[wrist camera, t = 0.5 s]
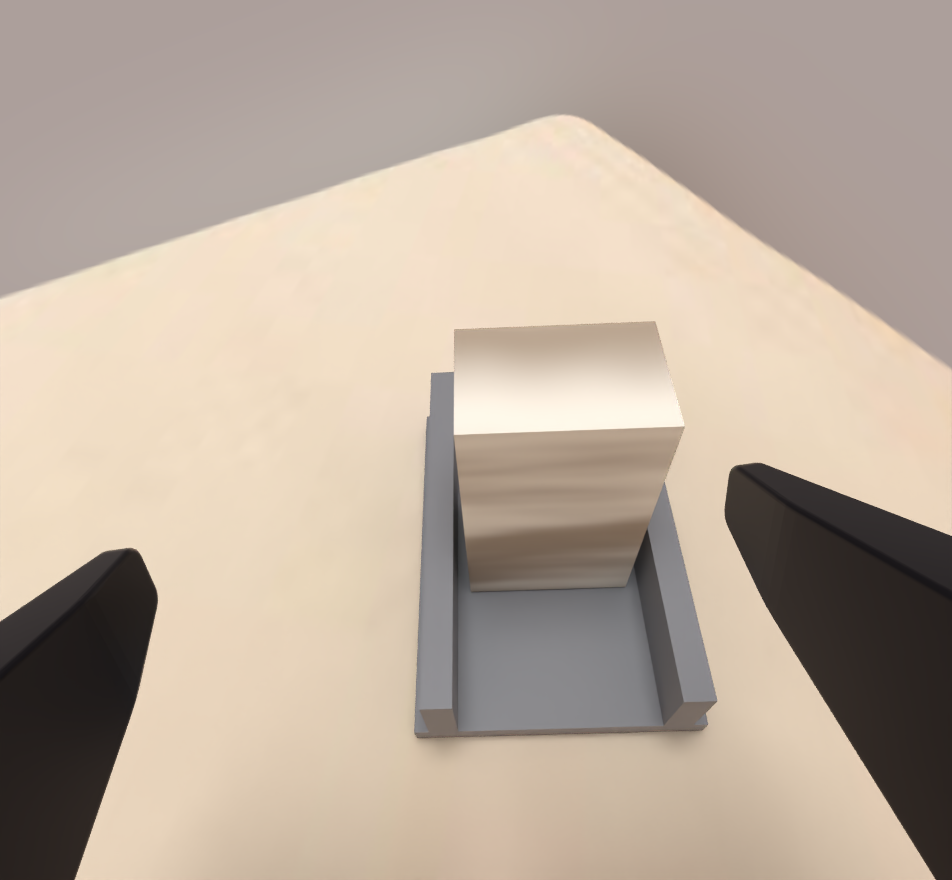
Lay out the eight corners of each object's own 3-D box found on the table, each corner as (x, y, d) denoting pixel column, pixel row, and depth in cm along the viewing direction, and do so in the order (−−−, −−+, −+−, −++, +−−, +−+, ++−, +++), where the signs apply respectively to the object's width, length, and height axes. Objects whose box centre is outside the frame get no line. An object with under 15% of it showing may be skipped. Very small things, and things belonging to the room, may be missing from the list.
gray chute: (702, 730, 22) (733, 700, 19) (417, 738, 22) (402, 709, 19) (633, 419, 30) (647, 364, 27) (428, 426, 30) (420, 373, 27)
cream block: (625, 586, 24) (685, 426, 16) (470, 591, 24) (453, 435, 16) (610, 498, 26) (655, 321, 18) (469, 503, 27) (454, 329, 19)
